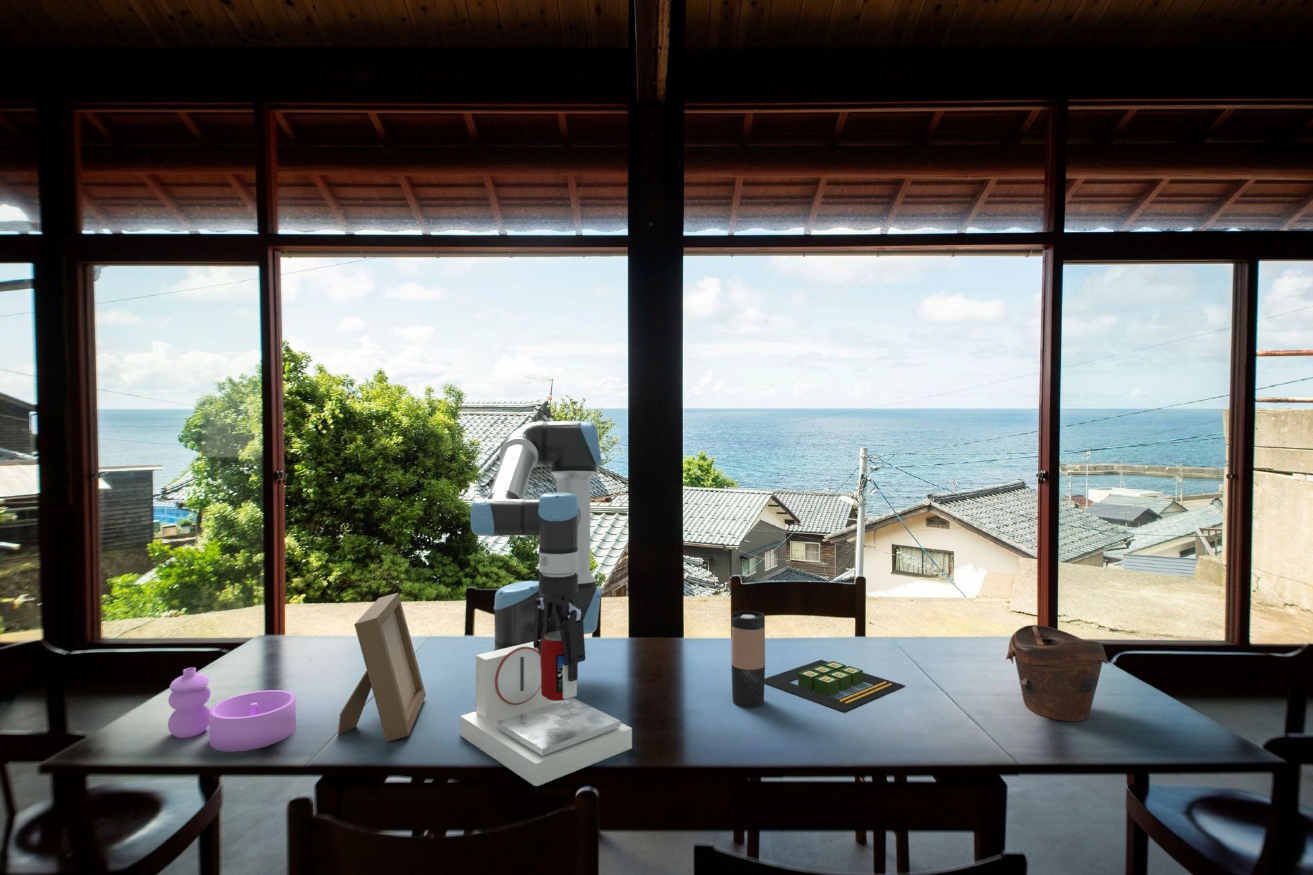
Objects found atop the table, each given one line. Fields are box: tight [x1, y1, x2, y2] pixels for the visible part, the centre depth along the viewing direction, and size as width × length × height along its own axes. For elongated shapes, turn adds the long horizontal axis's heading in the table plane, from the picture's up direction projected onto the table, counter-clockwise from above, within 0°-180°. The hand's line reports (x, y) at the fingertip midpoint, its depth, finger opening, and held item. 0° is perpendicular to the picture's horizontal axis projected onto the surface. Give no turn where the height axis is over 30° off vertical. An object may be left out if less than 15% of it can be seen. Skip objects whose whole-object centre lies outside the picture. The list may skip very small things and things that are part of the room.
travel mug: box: [731, 610, 766, 709], centre depth 161 cm, size 8×8×20 cm
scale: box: [459, 640, 633, 787], centre depth 141 cm, size 28×22×17 cm
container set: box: [167, 667, 297, 752], centre depth 144 cm, size 25×15×13 cm, turn 86°
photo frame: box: [337, 592, 427, 743], centre depth 151 cm, size 15×22×25 cm
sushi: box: [765, 659, 906, 714], centre depth 173 cm, size 25×25×4 cm
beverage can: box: [541, 631, 569, 701], centre depth 137 cm, size 7×7×12 cm
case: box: [1005, 624, 1109, 722], centre depth 157 cm, size 18×20×18 cm
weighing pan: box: [496, 697, 622, 756], centre depth 137 cm, size 16×18×1 cm
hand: (558, 691), depth 137 cm, fingers closed on beverage can, 7 cm apart
